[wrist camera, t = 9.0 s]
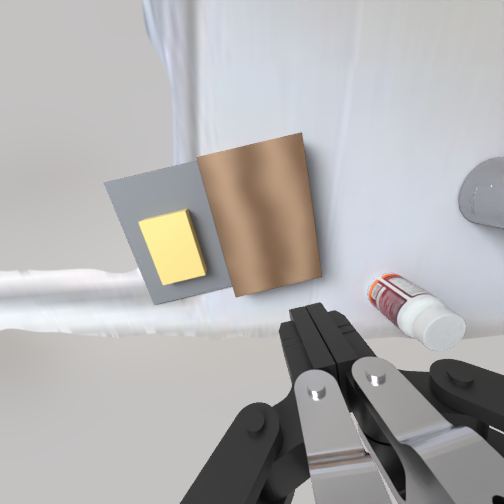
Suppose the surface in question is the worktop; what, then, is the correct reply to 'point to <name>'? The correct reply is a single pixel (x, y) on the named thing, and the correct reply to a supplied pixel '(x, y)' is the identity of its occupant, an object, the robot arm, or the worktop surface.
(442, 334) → the pill bottle
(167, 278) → the yellow rectangular block
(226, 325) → the worktop surface
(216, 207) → the brown wooden block
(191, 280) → the mat
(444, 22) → the worktop surface
